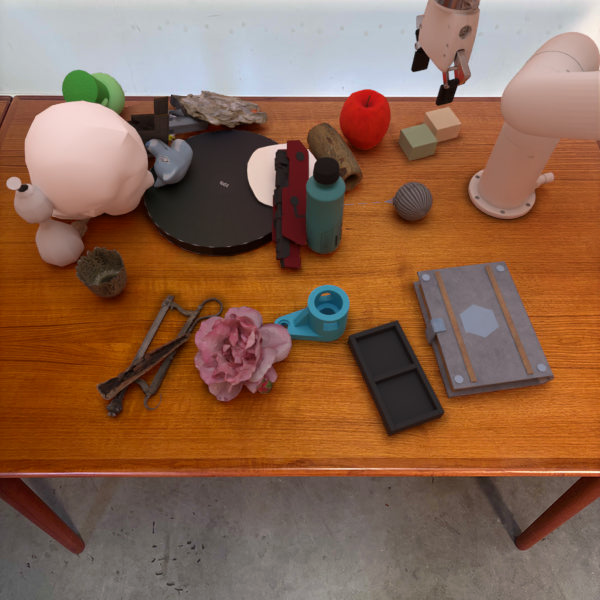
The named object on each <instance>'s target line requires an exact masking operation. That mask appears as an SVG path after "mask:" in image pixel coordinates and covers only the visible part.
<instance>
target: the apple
mask: <svg viewBox="0 0 600 600" xmlns="http://www.w3.org/2000/svg"><path fill="white" fill-rule="evenodd" d="M391 119H392V111H391V108H390V103H389V101H388V98H387V97H386V96H385V95H384V94H382V93H380V92H379V91H377V90H374V89H371V88H366V89H365V88H364V89H360V90H357V91H354V92H352V93H350V94H349V96H348V97H347V98H346V99H345V101H344V102H343V105H342V108H341V110H340V114H339V118H338V122H339V128H340V131H341V133H342V135H343V137H344V138H345V139H346V141H348V143H350V145H352V146H353V147H354V148H356V149H358V150H362V151H367V150H369V149H370V150H371V149H372V148H374V147H376V146H377V145H378V144H380V142H382V140H383V139H384V137H385V136H386V135H387V132H388V130H389V126H390V124H391Z"/></svg>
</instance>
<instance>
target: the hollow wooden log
mask: <svg viewBox="0 0 600 600" xmlns="http://www.w3.org/2000/svg"><path fill="white" fill-rule="evenodd" d="M306 140H307V141H306V142H307V146H308V148H309V151H310V152H311V153H312V155H313V156H314V158H315V159H316V160H318V159H320V158H323V157H330V158H333V159H335V160H336V161H337V162H338V163H339V167H340V177H341V178H342V179H343V180H344V182H345V186H346V188H345V193H346V192H349V191H352V190H354V189H355V188H357V186H358V185H359V184H360V183H361V181H362V180H363V178H364V174H363V171H362V168H361V166H360V164H359V163H358V161H357V159H356V157H355V155H354V154H353V151H352V150H351V149H350V148H349V146H348V144H347V143H346V141H345V140H344V138H342V135H340V133H339V132H338V130H337V129H335V128H334V127H333V126H332V124H329V123H328V122H321V123H318V124H316V125H314V126H313V127H311V129H309V130H308V133H307V135H306Z"/></svg>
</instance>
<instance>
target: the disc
mask: <svg viewBox="0 0 600 600" xmlns="http://www.w3.org/2000/svg"><path fill="white" fill-rule="evenodd" d="M183 140H184V141H185V142H186V143H187V144H188V145H189V146H190V147H191V149H192V151H193V157H192V160H191V164H190V166H189V168H188V170H187V172H186V174H185V176H184V177H183V178H182V179H181V180H180V181H179V182H177V183H174V184H166V185H163V186H160V187H154V184H155V182H156V181H157V174H156V172H155V169H154V164H153V165H152V166H151V168H149V171H150V172H151V173H152V175H153V178H154V184H153V185H152V186H151V187H149V188H148V189H146V191H145V192H144V194H143V200H144V205H145V207H146V210H147V213H148V215H149V217H150V220H151V222H152V224H153V226H154V227H155V228H156V230H157V232H158V233H159V234H160V235H161V236H162V237H163V238H165V239H166V240H167V241H168V242H169V243H170V244H172V245H175V246H176V247H178V248H180V249H182V250H184V251H188V252H191V253H194V254H197V255H203V256H204V255H205V256H212V257H215V256H216V257H218V256H219V257H220V256H233V255H239V254H244V253H248V252H250V251H253V250H256V249H259V248H262V247H263V246H266V245H267V244H268V243H270V242H273V241H272V222H273V221H274V220H273V207H272V206H270V205H267V204H264V203H262V202H260V201H259V200H258V199H257V198H256V196H255V194H254V192H253V190H252V188H251V186H250V184H249V180H248V173H247V168H248V162H249V160H250V158H251V156H252V154H253V153H254V152H255V151H256V150H257V149H259V148H263V147H267V146H272V145H278V144H279V142H277V141H275V140H274V139H272V138H269V137H268V136H266V135H263V134H260V133H257V132H252V131H247V130H241V129H240V130H239V129H217V130H212V131H205V132H202V133H199V134H196V135H193V136H189V137H187V138H185V139H183Z"/></svg>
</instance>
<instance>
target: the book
mask: <svg viewBox="0 0 600 600" xmlns="http://www.w3.org/2000/svg"><path fill="white" fill-rule="evenodd" d="M416 275H417V279H418V280H417V281H413V282H412V285H413V288H414V291H415V294H416V297H417V301H418V304H419V308H420V310H421V314H422V317H423V318H422V319H423V320H424V321H423V322H424V324H425V327H426V328H425V330H424V334H425V338H426V340H427V343H428V345H431V347H432V350H433V354H434V358H435V360H436V363H437V366H438V370H439V373H440V376H441V379H442V382H443V386H444V390H445V393H446V396H447V398H449V399H450V398H457V397H464V396H470V395H478V394H484V393H485V394H486V393H492V392H493V393H494V392H499V391H505V390H506V391H507V390H513V389H522V388H527V387H535V386H541V385H545V384H548V383H549V382H551V381H553V380H554V379H555V374H554V373H553V370H552V368H551V366H550V363H549V361H548V358H547V357H546V354H545V352H544V349H543V347H542V345H541V342H540V340H539V337H538V335H537V333H536V330H535V329H534V325H533V323H532V321H531V319H530V317H529V314H528V311H527V310H526V307H525V305H524V303H523V300H522V298H521V295H520V293H519V290H518V288H517V286H516V283H515V281H514V278H513V276H512V274H511V272H510V270H509V266H508V265H507V263H506V261H505V260H501V261H494V262H493V261H492V262H485V263H478V264H470V265H469V264H467V265H460V266H453V267H443V268H438V269H437V268H436V269H427V270H419V271H417V272H416Z"/></svg>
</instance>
